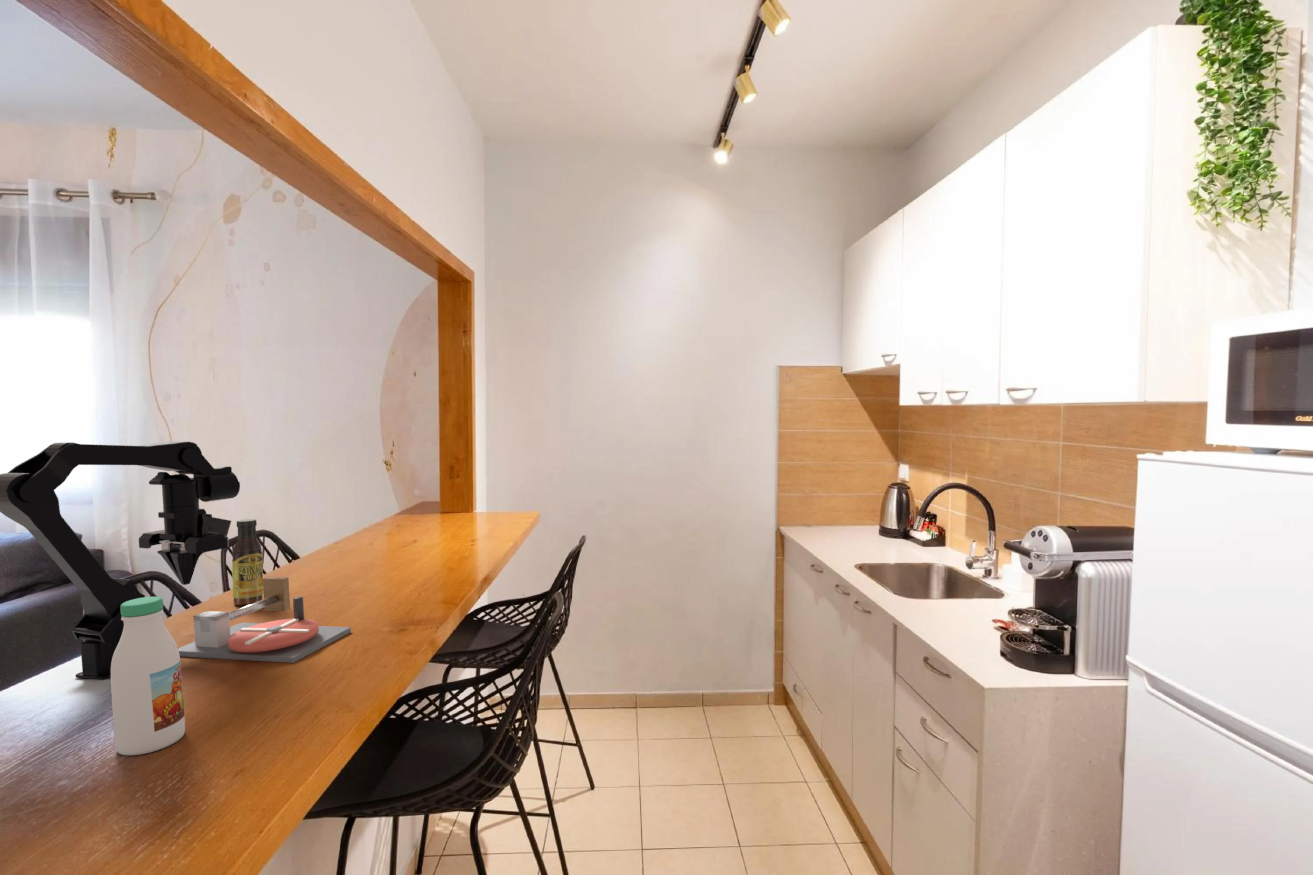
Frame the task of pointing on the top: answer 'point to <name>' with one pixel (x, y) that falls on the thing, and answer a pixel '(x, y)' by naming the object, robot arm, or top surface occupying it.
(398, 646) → the top surface
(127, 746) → the milk bottle
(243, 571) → the sauce bottle
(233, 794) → the top surface
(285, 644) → the handwheel
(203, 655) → the mounting plate
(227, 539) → the robot arm
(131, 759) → the top surface
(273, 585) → the locking pin
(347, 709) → the top surface
